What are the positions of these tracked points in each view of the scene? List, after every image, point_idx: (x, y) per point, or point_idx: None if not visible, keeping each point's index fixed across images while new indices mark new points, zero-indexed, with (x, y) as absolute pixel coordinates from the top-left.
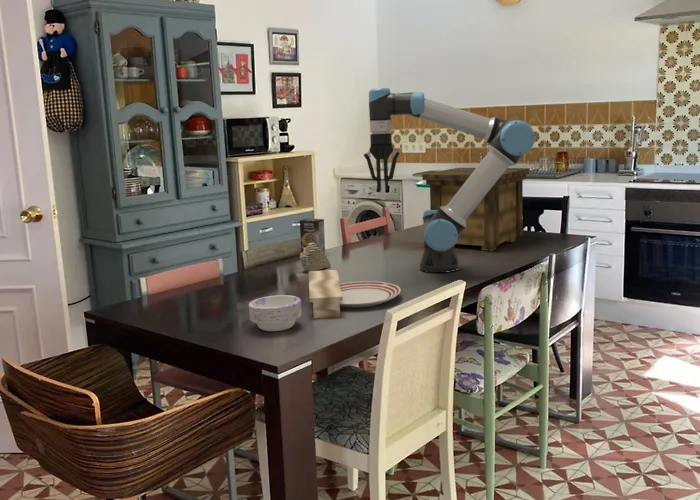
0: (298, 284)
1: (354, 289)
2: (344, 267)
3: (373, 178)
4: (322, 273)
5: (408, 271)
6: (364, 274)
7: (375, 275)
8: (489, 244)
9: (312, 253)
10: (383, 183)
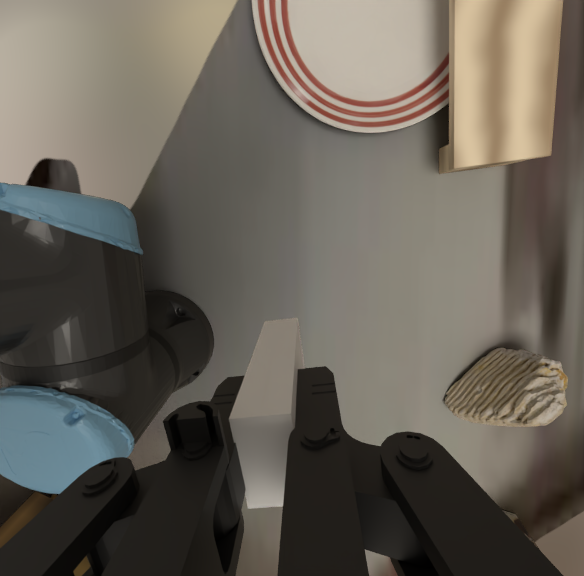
0: (541, 216)
1: (388, 96)
2: (406, 390)
3: (426, 449)
4: (506, 114)
5: (242, 324)
6: (355, 307)
7: (326, 293)
8: (42, 502)
9: (528, 375)
10: (256, 398)
